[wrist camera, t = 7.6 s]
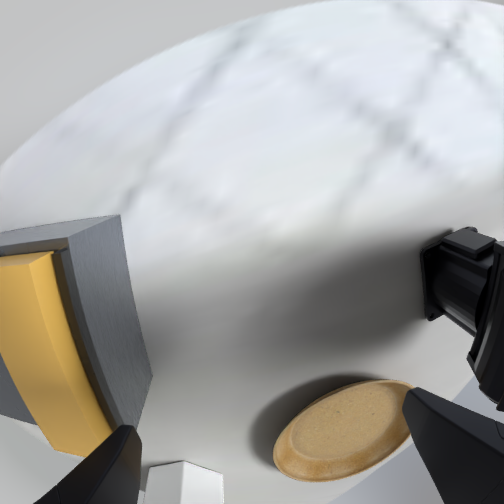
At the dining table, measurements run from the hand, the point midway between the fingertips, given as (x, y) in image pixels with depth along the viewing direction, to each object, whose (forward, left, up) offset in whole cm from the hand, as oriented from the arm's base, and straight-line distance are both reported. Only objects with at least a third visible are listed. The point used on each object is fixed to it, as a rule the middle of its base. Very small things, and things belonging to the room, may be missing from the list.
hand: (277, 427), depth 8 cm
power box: (+3, +14, -12) cm, 18 cm away
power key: (+2, +10, -5) cm, 12 cm away
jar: (-20, +14, -12) cm, 27 cm away
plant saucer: (-17, -4, -13) cm, 22 cm away
